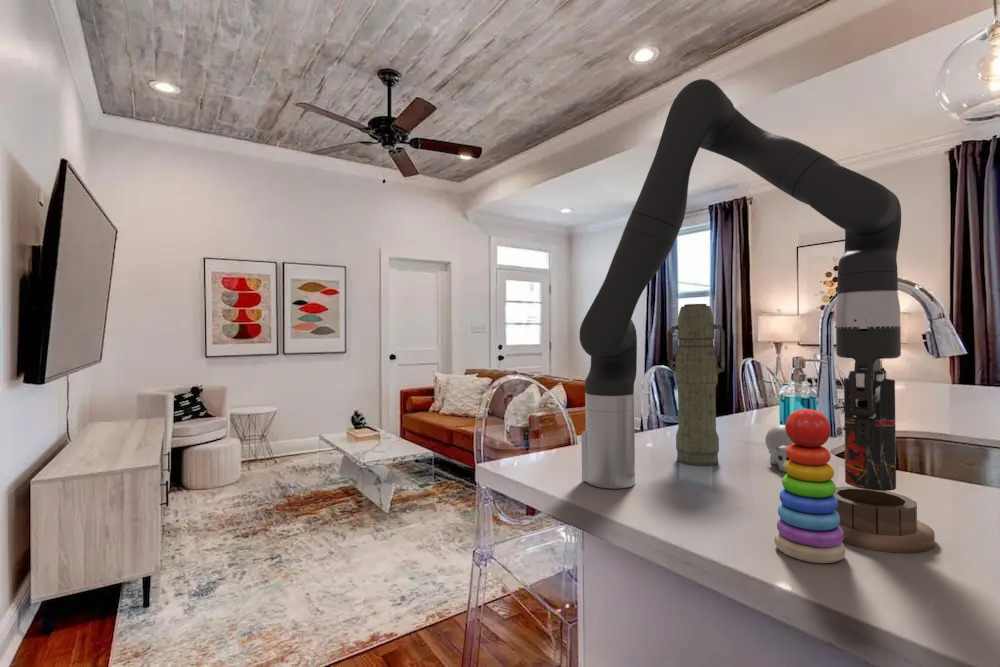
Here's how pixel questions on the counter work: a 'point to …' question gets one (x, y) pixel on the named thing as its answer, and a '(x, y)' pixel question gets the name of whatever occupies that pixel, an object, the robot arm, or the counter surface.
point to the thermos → (696, 384)
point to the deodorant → (879, 461)
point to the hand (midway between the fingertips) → (868, 441)
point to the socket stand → (881, 521)
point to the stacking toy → (809, 493)
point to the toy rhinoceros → (778, 445)
